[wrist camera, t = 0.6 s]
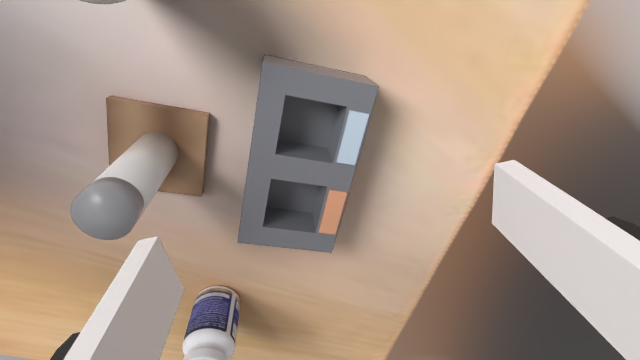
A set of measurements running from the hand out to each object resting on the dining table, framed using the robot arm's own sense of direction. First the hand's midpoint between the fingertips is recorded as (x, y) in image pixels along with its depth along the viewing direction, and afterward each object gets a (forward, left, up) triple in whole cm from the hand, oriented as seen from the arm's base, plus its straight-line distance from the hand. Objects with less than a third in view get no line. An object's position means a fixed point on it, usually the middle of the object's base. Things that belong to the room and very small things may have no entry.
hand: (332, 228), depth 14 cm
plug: (-13, -8, -22) cm, 27 cm away
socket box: (+1, -6, -23) cm, 24 cm away
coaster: (-13, -8, -23) cm, 28 cm away
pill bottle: (-5, -28, -24) cm, 37 cm away
